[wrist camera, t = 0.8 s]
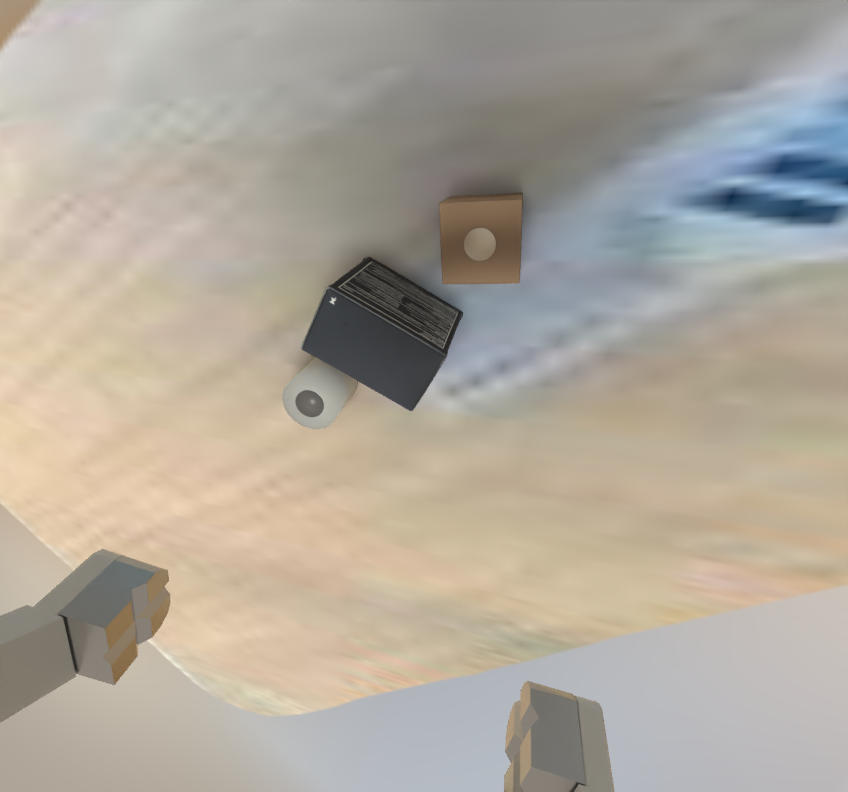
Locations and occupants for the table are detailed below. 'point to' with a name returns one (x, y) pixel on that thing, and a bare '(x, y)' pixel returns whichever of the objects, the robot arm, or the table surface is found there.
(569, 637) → the table surface
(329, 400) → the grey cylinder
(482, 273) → the walnut cube
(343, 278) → the small box
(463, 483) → the table surface
